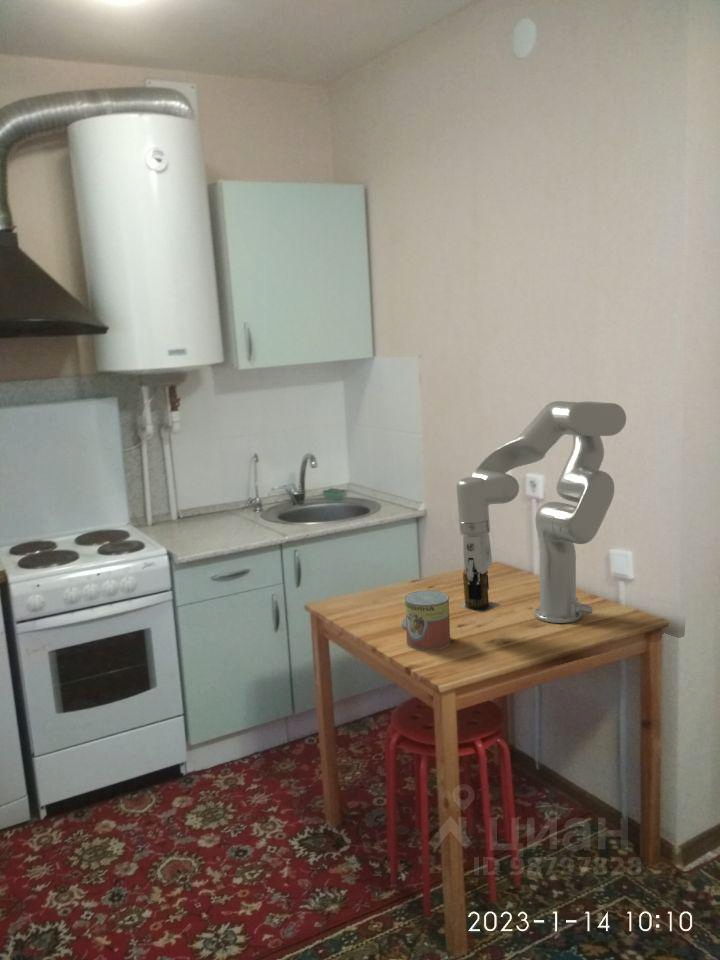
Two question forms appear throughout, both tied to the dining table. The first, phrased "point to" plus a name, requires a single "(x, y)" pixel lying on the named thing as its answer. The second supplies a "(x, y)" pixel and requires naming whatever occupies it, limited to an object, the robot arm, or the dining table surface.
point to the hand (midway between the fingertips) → (479, 593)
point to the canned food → (427, 620)
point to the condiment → (484, 603)
